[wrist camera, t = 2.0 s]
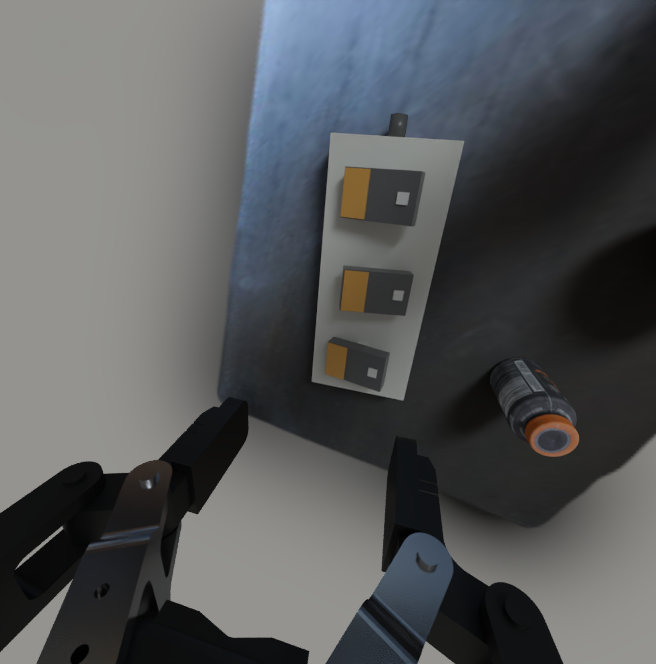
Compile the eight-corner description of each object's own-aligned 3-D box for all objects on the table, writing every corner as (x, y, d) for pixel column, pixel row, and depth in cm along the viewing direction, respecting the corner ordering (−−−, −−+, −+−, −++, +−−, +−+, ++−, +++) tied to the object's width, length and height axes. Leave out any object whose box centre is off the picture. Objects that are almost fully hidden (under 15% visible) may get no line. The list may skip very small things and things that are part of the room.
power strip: (462, 123, 29) (472, 112, 25) (403, 383, 42) (403, 403, 38) (340, 117, 31) (330, 105, 27) (318, 366, 44) (309, 383, 40)
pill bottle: (548, 389, 38) (600, 459, 28) (497, 402, 40) (528, 471, 30) (534, 349, 36) (584, 407, 26) (482, 365, 38) (509, 424, 28)
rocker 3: (390, 352, 34) (385, 359, 33) (383, 385, 36) (379, 393, 35) (333, 336, 37) (327, 342, 35) (330, 367, 39) (324, 374, 37)
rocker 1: (425, 172, 27) (421, 170, 25) (415, 225, 29) (411, 226, 27) (351, 168, 29) (344, 166, 28) (346, 216, 31) (339, 217, 30)
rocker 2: (409, 271, 32) (414, 275, 30) (402, 310, 34) (405, 316, 32) (343, 265, 32) (344, 269, 30) (338, 305, 33) (339, 311, 32)
